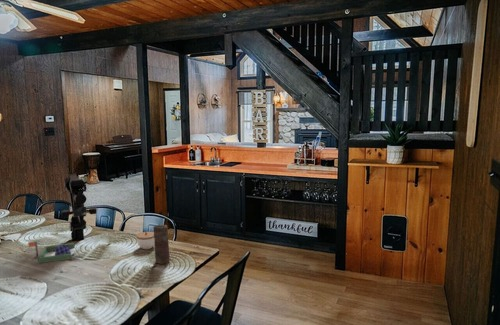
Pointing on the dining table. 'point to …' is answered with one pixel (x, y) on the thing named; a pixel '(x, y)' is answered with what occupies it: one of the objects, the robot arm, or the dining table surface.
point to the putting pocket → (50, 248)
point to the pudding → (63, 250)
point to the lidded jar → (145, 240)
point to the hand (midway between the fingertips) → (80, 226)
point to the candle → (161, 244)
